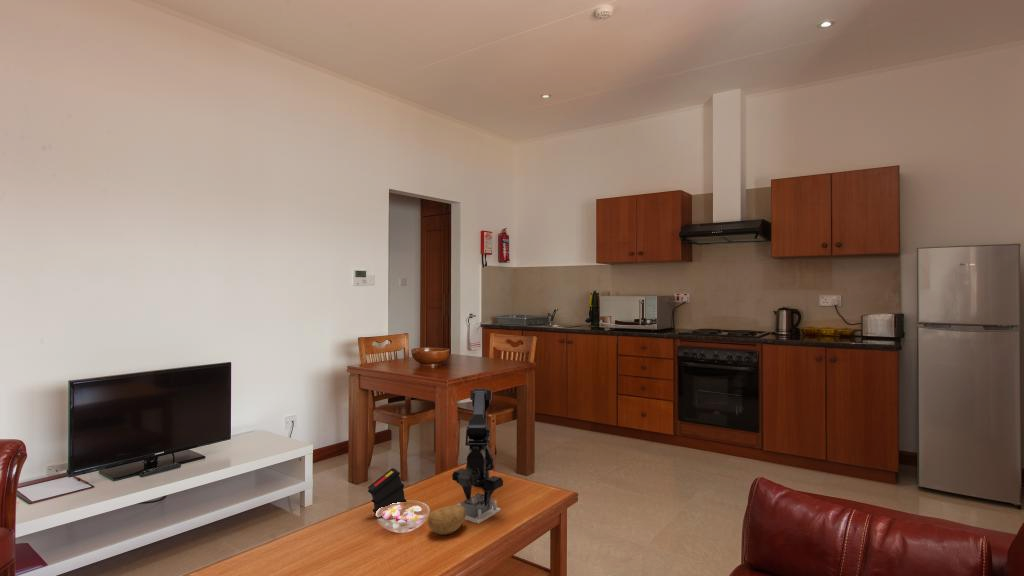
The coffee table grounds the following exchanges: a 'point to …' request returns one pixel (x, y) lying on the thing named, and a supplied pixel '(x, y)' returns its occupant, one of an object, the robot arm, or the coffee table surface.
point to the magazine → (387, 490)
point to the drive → (476, 505)
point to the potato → (446, 519)
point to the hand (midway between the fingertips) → (477, 503)
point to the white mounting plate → (485, 515)
